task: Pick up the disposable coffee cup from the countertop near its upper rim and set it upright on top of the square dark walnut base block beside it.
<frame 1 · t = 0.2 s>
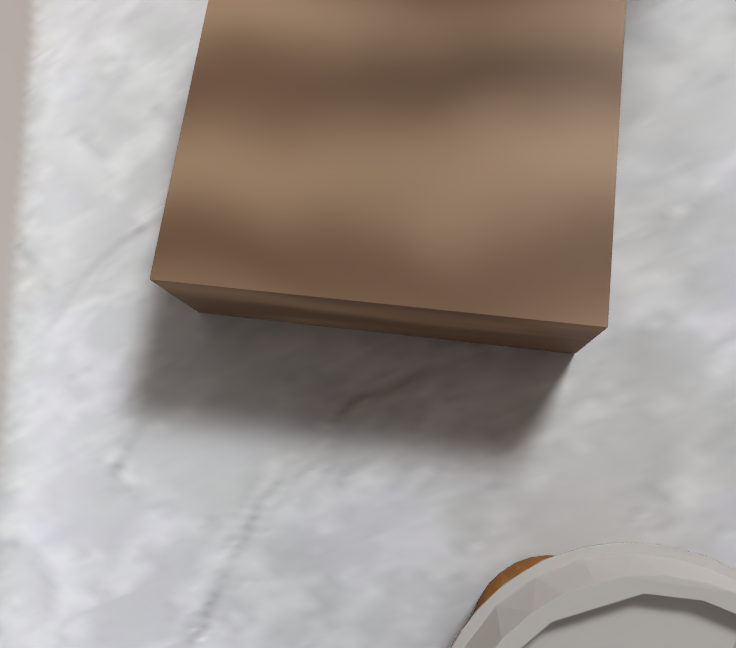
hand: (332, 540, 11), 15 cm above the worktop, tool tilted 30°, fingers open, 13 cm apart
walnut base: (402, 158, 29), on the worktop
disposable coffee cup: (554, 642, 24), on the worktop
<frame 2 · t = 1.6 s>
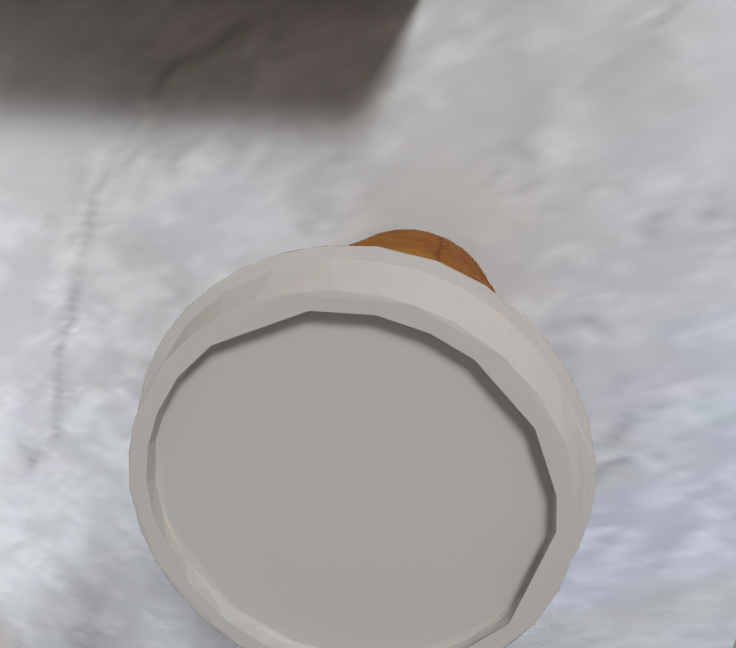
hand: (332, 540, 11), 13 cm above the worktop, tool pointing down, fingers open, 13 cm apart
disposable coffee cup: (408, 313, 23), on the worktop
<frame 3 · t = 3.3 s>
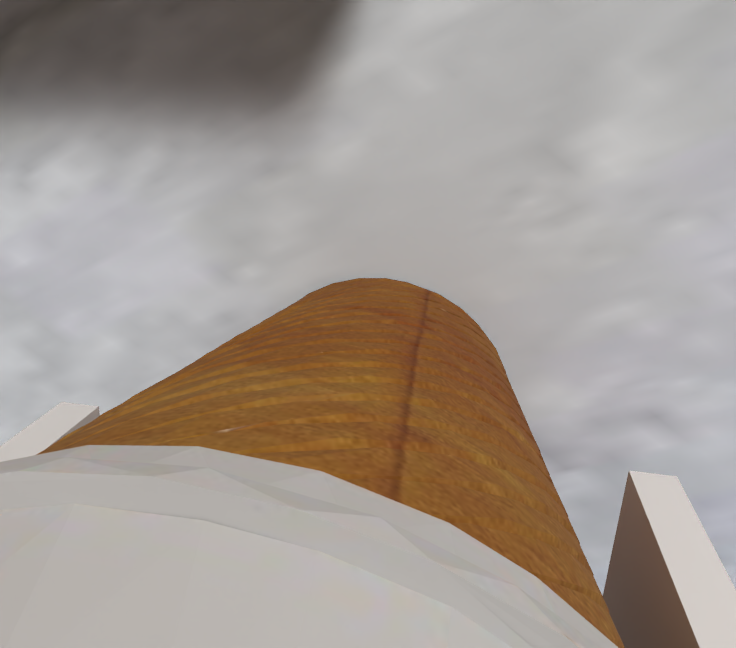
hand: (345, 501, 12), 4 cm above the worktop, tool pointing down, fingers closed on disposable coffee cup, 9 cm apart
disposable coffee cup: (379, 398, 16), on the worktop, touching gripper
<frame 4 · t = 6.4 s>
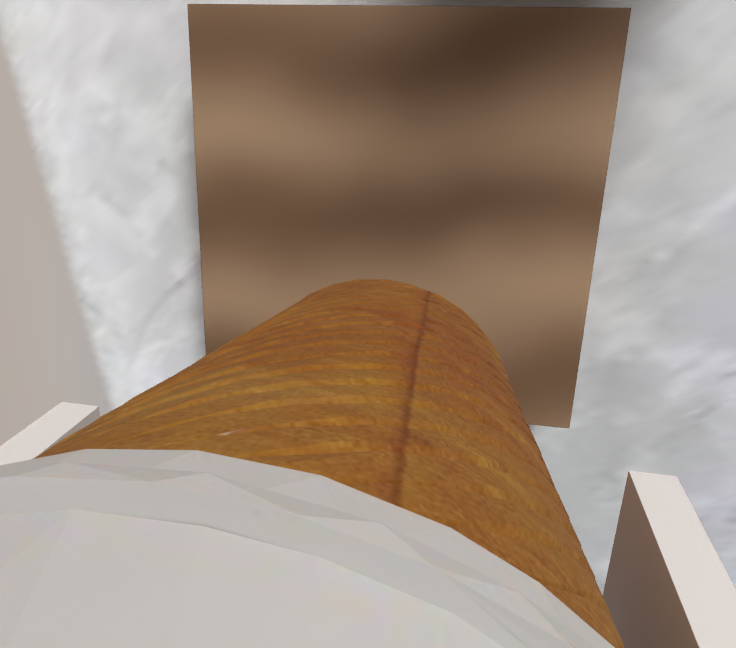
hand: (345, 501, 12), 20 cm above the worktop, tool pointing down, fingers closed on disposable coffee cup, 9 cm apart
walnut base: (402, 209, 30), on the worktop
disposable coffee cup: (379, 399, 16), point 16 cm above the worktop, touching gripper
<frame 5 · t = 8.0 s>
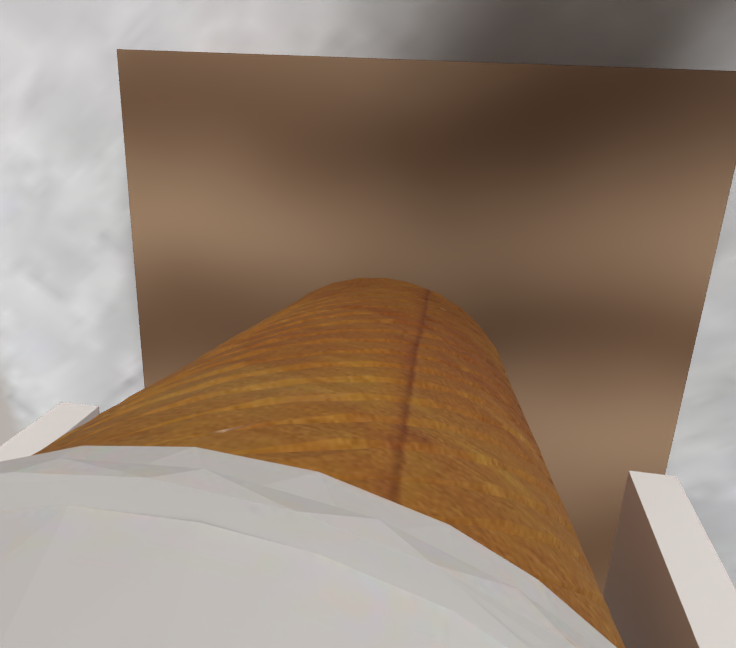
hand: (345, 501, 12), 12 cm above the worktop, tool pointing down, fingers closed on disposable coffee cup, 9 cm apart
walnut base: (412, 305, 23), on the worktop
disposable coffee cup: (379, 398, 16), point 8 cm above the worktop, touching gripper
when the fingers open (10 cm above the worktop, at t = 9.4 s): disposable coffee cup stays where it is, resting on walnut base.
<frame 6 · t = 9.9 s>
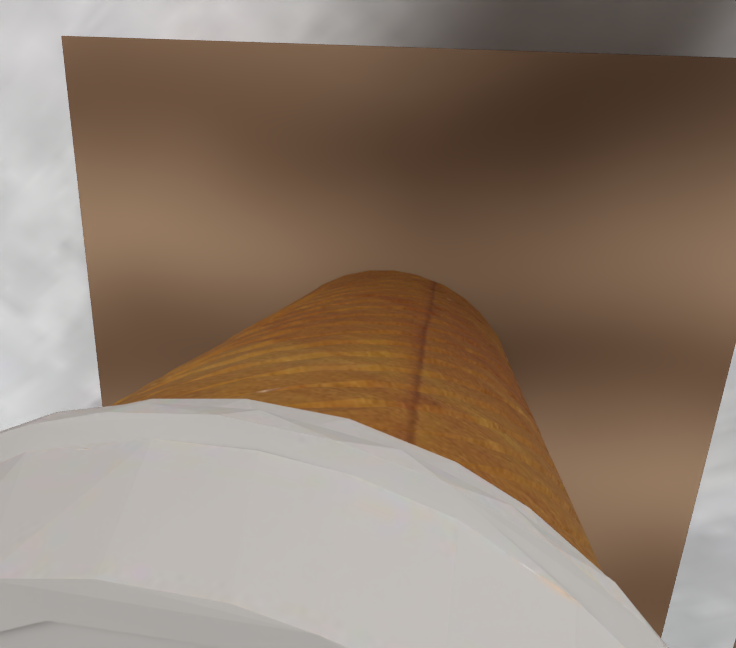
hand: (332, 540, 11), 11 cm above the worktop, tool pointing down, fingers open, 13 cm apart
walnut base: (406, 322, 21), on the worktop
disposable coffee cup: (387, 384, 17), point 5 cm above the worktop, touching walnut base
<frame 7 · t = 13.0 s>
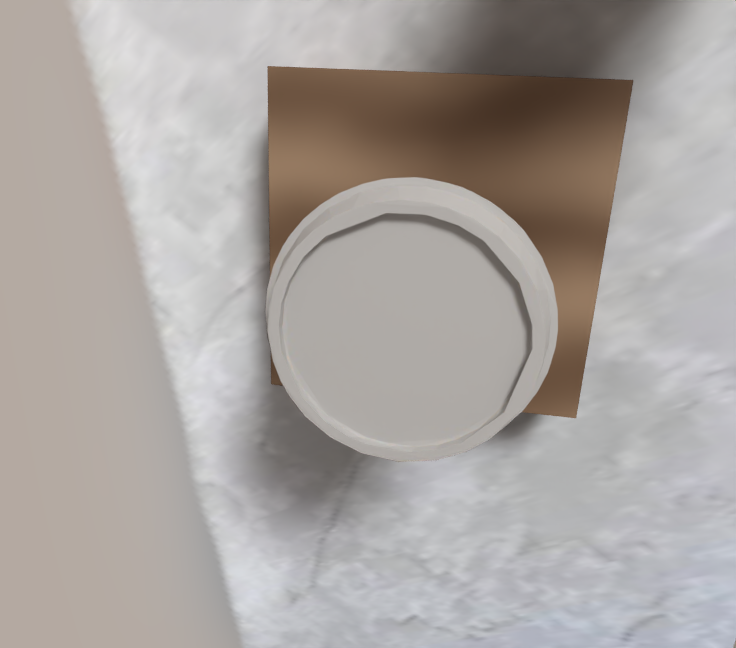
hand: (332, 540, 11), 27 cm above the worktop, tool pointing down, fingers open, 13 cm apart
walnut base: (436, 231, 35), on the worktop
disposable coffee cup: (431, 251, 31), point 5 cm above the worktop, touching walnut base
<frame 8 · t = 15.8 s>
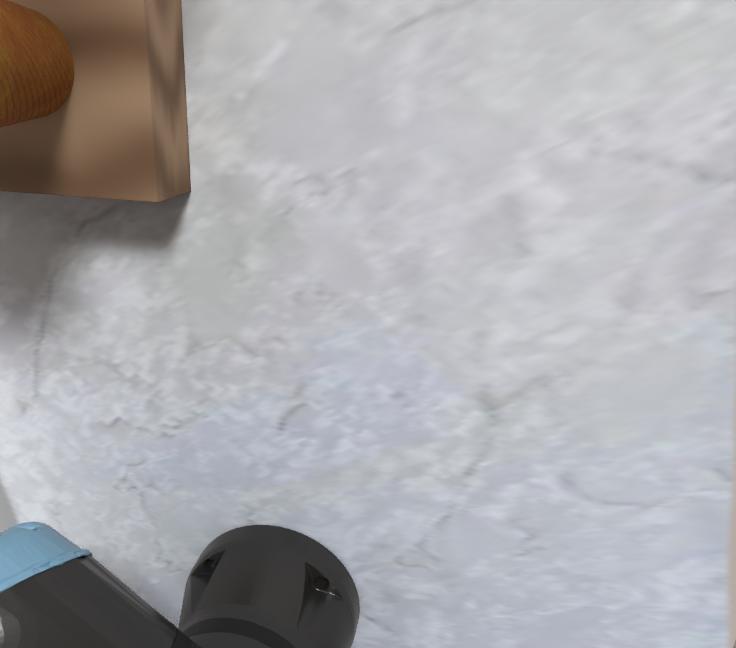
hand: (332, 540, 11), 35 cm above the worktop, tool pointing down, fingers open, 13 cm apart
walnut base: (74, 66, 44), on the worktop
disposable coffee cup: (29, 63, 39), point 5 cm above the worktop, touching walnut base
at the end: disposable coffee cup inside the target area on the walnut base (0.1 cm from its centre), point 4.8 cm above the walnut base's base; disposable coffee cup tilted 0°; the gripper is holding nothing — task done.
